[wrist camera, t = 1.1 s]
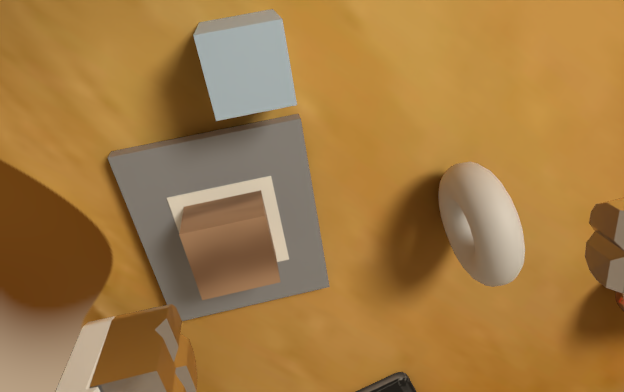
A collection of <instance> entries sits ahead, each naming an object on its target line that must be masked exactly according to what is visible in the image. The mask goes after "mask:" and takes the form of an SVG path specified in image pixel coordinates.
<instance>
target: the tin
mask: <svg viewBox="0 0 624 392" xmlns="http://www.w3.org/2000/svg"><path fill="white" fill-rule="evenodd" d="M615 297H616V302H617V304H618V305H619V307H620V308H621V309H622V310H623V311H624V299H623V294H622V293H620V292H617V291H616V295H615Z"/></svg>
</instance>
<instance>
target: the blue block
mask: <svg viewBox="0 0 624 392" xmlns="http://www.w3.org/2000/svg"><path fill="white" fill-rule="evenodd" d="M193 36H194V40H195V44H196V47H197V51H198V55H199V59H200V62H201V66H202V70H203V74H204V77H205V81H206V85H207V89H208V92H209V96H210V100H211V104H212V107H213V111H214V115H215V119H216V121H219V120H224V119H229V118H234V117H239V116H244V115H249V114H254V113H259V112H264V111H269V110H274V109H279V108H284V107H289V106H294V105H297V102H296V96H295V90H294V84H293V79H292V73H291V67H290V61H289V55H288V50H287V44H286V38H285V32H284V26H283V21H282V18H281V17H280V16H279V15H278V14H277V13H276V12H275V11H274V10H273V9H271V10H265V11H260V12H254V13H249V14H243V15H238V16H233V17H227V18H222V19H216V20H211V21H205V22H200V23H199V24H198V26H197V28H196V31H195V33H194V35H193Z"/></svg>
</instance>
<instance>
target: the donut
mask: <svg viewBox="0 0 624 392" xmlns="http://www.w3.org/2000/svg"><path fill="white" fill-rule="evenodd" d="M438 199H439V209H440V214H441V219H442V222H443V225H444V229H445V232H446V235H447V237H448V240H449V242H450V245H451V247H452V249H453V251H454V253H455V255H456V257H457V259H458V260H459V262H460V263H461V265H462V266H463V268H464V269H465V270H466V271H467V272H468V273H469V274H470V275H471V277H472V278H473V279H475V280H477V281H479V282H480V283H482V284H484V285H486V286H492V287H494V286H501V285H505V284H508V283H510V282H512V281H513V280H514V279H515V278H516V277H517V276H518V274H519V272H520V270H521V269H522V266H523V263H524V256H525V245H524V237H523V230H522V226H521V223H520V219H519V216H518V213H517V211H516V208H515V206H514V204H513V202H512V199H511V197H510V196H509V194H508V193H507V191H506V189H505V188H504V186H503V185H502V183H501V182H500V181H499V180H498V178H497V177H496V176H495V175H494V174H493V173H492V172H491V171H490V170H488V169H486V168H484V167H483V166H481V165H479V164H477V163H473V162H466V163H459V164H455V165H453V166H451V167H450V168H449V169H448V170H447V171H446V172H445V174H444V175H443V177H442V179H441V181H440V185H439V192H438Z"/></svg>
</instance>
